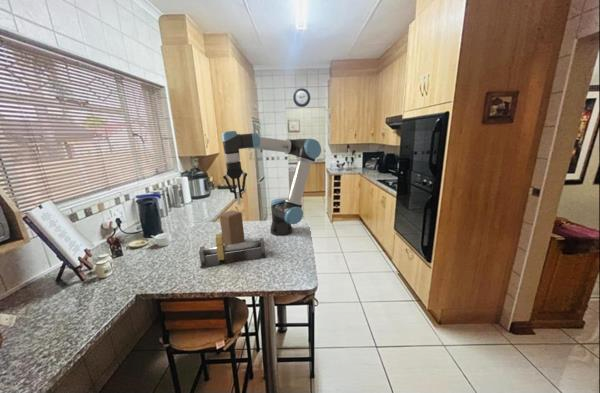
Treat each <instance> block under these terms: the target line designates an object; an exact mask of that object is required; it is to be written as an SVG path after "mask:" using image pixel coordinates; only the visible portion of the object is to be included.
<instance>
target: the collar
mask: <svg viewBox="0 0 600 393" xmlns="http://www.w3.org/2000/svg"><path fill="white" fill-rule="evenodd" d="M214 239H215V244H216V246H215V247H217V254H216V255H218V260H224V255H225V253H224V252H223V245H225V244H223V238H222V232H221V233H217V234H215V238H214Z"/></svg>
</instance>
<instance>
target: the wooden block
mask: <svg viewBox="0 0 600 393" xmlns="http://www.w3.org/2000/svg"><path fill="white" fill-rule="evenodd" d="M219 221H220V222H219V224H220V229H221V230H220V231H221V233H222V238H223V244H224V245H230V244H237V243H244V242H245V232H244V224H243V223H244V222H243V215H242V212H241V211H237V210H231V209H230V210H228V211H226V212H222V213H220V214H219Z"/></svg>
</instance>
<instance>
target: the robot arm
mask: <svg viewBox="0 0 600 393" xmlns="http://www.w3.org/2000/svg"><path fill="white" fill-rule="evenodd" d="M221 138H222V145H223V146H222V147H223V152H224V158H225V162H226V163H225V166H226V173H225V174H224V175H222V178H223V179H224V180H225V182H226V185H227V186H228V189H229V192H230V193H232V194H233V195H234V199H235V200H236V201H237V206H239V205H240V206H241V199H242V197H243V196H242V192H244V191H245V189H246V188H245V187H246V180H247V176H248V173H247V172H244V171H243V169H242V163H241V161H240V160H241V156H240V150H244V149H254V150H261V151H271V152H279V153H284V154H286V155H291V156H295V157H296V159H297V163H296V167H295V171H294V173H293V177H292V182H291V185H290V188H289V192H288V195H287V198H284V197H282V198H276V199H273V200H271V201H270V208H271V225H270V230H269V231H270V234H271V235H273V236H287V235H290V234H291V233H292V232H293V226H292V225H296V224H298V223H300V222H301V220H302V219H303V217H304V211H303V209H302V207H303V203H302V200H303V199H302V198H303V195H304V192H305V188H306V184H307V182H308V181H307V180H308V177H309V174H310V171H311V166H312V165H313V164H315V162H316V159H317V158H318V157H320V155H321V153H322V147H321V145H320V142H319V140H317V139H313V138H296V139H295V138H294V139H291V138H286V139H278V138H271V137H262V136H260V135H259V133H256V132H254V133H252V132H251V133H237V130H229V131H222V133H221ZM241 176H242V184H241V181H240V178H241ZM228 178H230V179H231V181H232V185H231V183H230V181H229V179H228ZM235 180H236V181H235ZM236 182H237V187H236ZM236 188H237V189H236ZM237 190H238V191H237Z"/></svg>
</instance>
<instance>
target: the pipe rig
mask: <svg viewBox="0 0 600 393" xmlns="http://www.w3.org/2000/svg"><path fill="white" fill-rule="evenodd" d="M223 252H224V253H225V255H224V260H218V255H217V247H216V246H211V247H210V246H209V247H205V246H200V247H199V251H198V253H199V260H200V269H205V268H212V267H218V266H223V265H224V266H225V265H230V264H236V262H237V263H243V262H247V261H248V262H249V261H253V260H261V259H266V258H267V254H266V244H265V240H264V237H260V238H259V240H252V241H246V242H245V241H244V242H243V243H237V244H230V245H225V244H224V245H223Z"/></svg>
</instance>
